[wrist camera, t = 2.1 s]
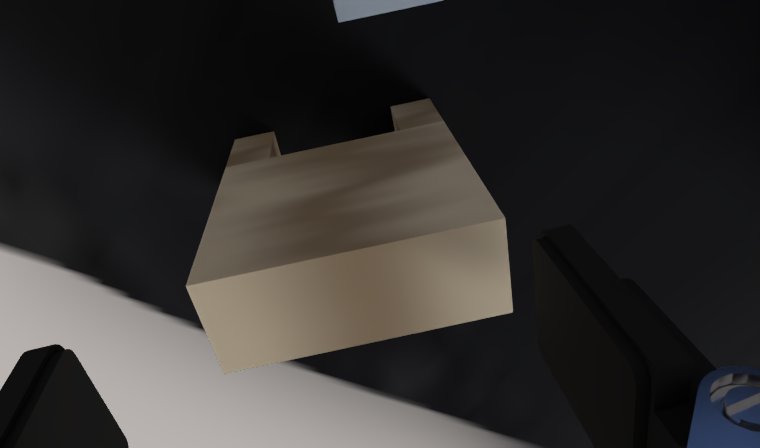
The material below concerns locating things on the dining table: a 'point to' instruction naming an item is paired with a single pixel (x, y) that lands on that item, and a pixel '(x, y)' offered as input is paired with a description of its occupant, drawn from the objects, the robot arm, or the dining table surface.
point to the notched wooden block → (347, 244)
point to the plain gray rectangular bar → (372, 7)
